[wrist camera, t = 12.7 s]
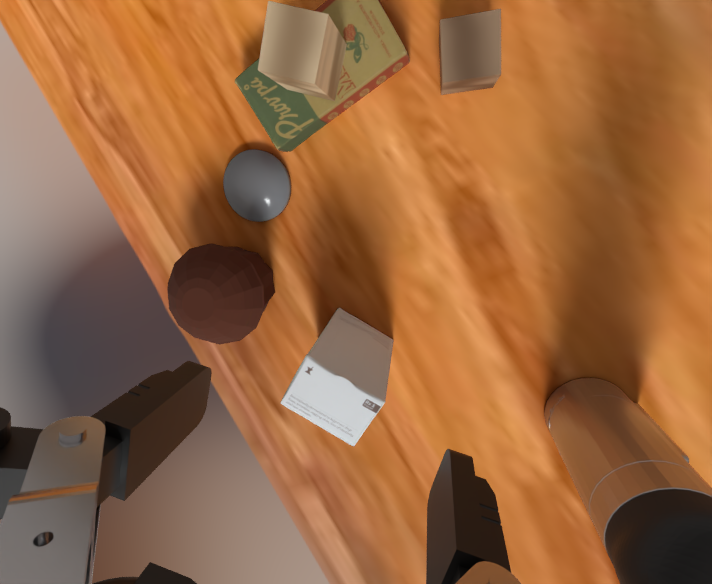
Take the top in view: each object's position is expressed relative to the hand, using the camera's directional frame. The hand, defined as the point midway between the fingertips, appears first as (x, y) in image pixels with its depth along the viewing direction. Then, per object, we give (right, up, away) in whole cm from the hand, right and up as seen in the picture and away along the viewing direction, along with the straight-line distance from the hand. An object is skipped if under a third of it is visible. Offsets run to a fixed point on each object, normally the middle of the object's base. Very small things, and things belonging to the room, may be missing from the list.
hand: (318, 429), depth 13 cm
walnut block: (+12, +27, +26) cm, 40 cm away
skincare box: (+1, -2, +36) cm, 36 cm away
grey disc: (-10, +17, +33) cm, 39 cm away
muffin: (-13, +6, +37) cm, 40 cm away
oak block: (-3, +26, +25) cm, 37 cm away
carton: (-2, +27, +30) cm, 40 cm away
